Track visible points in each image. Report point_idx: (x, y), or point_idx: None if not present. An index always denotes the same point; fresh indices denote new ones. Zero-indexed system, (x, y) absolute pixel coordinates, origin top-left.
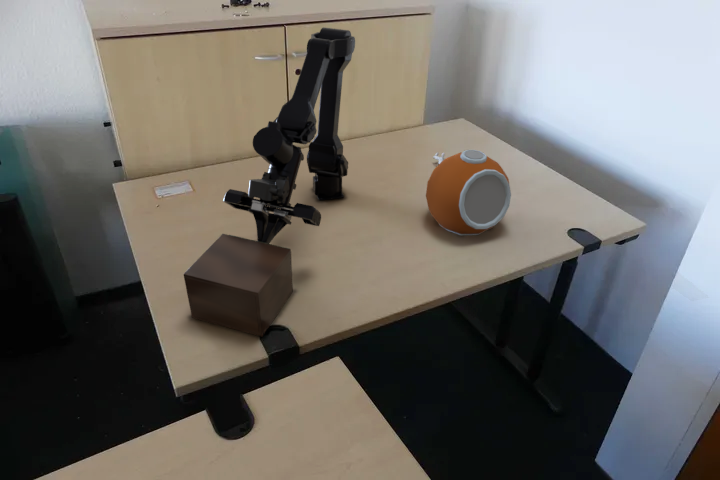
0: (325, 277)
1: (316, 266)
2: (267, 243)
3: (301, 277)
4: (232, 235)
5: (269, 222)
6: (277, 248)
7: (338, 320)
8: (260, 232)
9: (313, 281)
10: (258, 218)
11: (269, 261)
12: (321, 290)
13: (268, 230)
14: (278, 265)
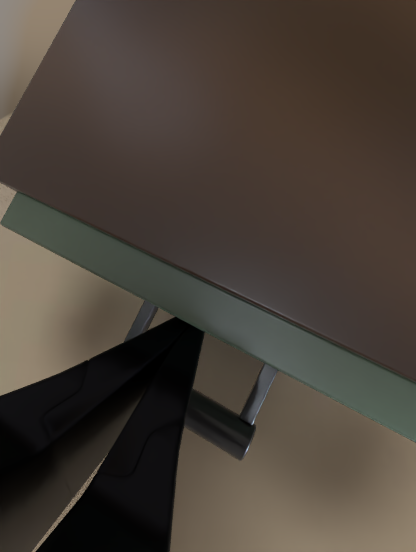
0: (28, 313)
1: (44, 376)
2: (126, 288)
3: (97, 321)
4: (405, 431)
5: (18, 442)
6: (54, 178)
7: None
8: (157, 396)
9: (65, 296)
10: (117, 541)
11: (112, 47)
12: (49, 252)
13: (80, 382)
14: (66, 19)
